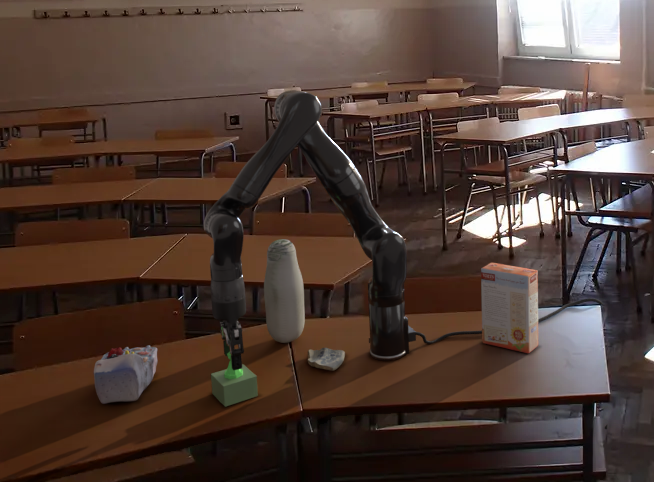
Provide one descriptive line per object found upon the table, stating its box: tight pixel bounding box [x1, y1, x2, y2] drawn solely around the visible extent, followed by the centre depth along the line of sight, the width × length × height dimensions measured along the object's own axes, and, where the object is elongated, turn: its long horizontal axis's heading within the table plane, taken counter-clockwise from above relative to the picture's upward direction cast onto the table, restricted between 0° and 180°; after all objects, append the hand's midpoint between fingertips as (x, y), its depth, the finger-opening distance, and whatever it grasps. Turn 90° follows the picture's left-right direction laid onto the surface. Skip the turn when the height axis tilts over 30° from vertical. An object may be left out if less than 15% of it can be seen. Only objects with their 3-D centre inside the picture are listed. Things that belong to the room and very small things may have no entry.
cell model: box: [93, 345, 159, 405], centre depth 198 cm, size 13×11×20 cm
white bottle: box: [263, 239, 306, 344], centre depth 222 cm, size 10×10×28 cm
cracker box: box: [480, 262, 539, 354], centre depth 216 cm, size 14×6×21 cm, turn 58°
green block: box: [210, 363, 259, 408], centre depth 194 cm, size 8×8×5 cm
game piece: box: [224, 352, 243, 379], centre depth 193 cm, size 4×4×6 cm
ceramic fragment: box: [307, 347, 346, 372], centre depth 210 cm, size 11×3×10 cm
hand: (233, 361), depth 193 cm, fingers open, 8 cm apart
